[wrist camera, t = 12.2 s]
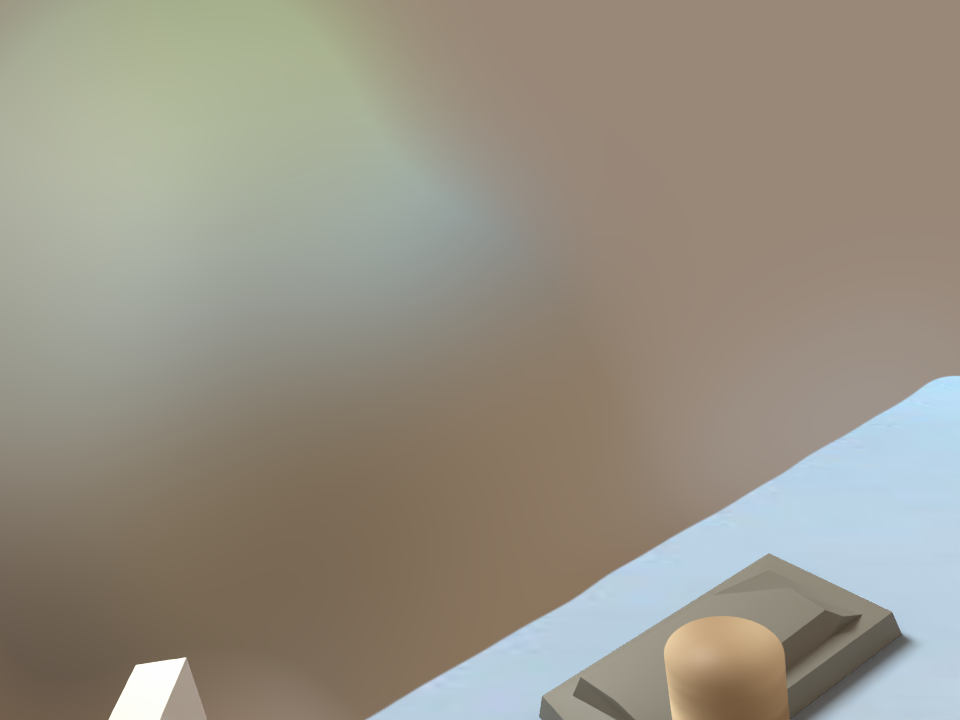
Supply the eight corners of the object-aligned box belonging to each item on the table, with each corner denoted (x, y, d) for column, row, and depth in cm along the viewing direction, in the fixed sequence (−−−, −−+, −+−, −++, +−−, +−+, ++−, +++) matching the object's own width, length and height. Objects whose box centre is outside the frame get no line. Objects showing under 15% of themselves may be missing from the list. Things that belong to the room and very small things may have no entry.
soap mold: (905, 643, 53) (904, 593, 51) (657, 832, 43) (649, 777, 42) (767, 574, 61) (764, 530, 60) (535, 721, 52) (526, 673, 51)
